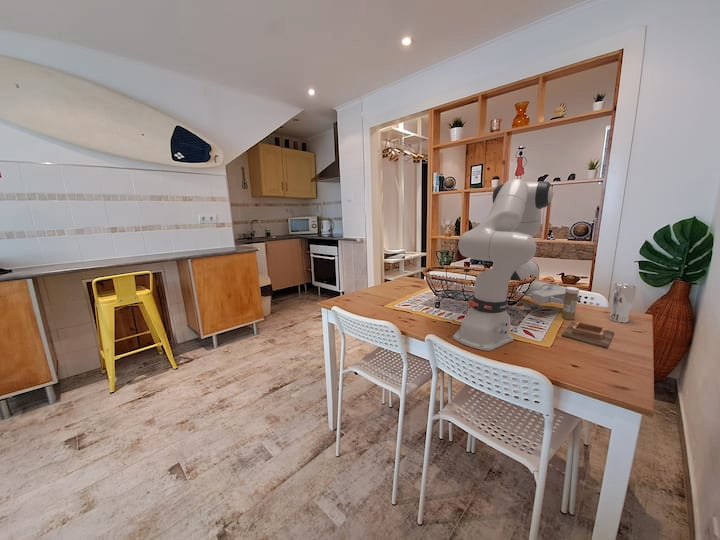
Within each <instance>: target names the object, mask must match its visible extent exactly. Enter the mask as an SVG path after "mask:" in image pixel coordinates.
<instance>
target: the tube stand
mask: <svg viewBox="0 0 720 540" xmlns="http://www.w3.org/2000/svg"><path fill="white" fill-rule="evenodd" d="M614 334H615V331H611V330H610V329H609V330H608V329H606V328H605V327H603V326H598V325H594V324H590V323H585V322H581V321H576V322H573V321H572V322H570V324H569V325H568V326H567V327H566V328H565V329H564V331H563V332H562V334H561V337H562V338H565V339H569V340H573V341H577V342H581V343H585V344H588V345H593V346H596V347H600V348H603V349H608V348H609V346H610V344H611V341H612V339H613V337H614Z"/></svg>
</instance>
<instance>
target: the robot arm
mask: <svg viewBox="0 0 720 540" xmlns="http://www.w3.org/2000/svg"><path fill="white" fill-rule="evenodd" d="M553 197H554V188H553V185H552V184H551V182H549V181H545V180H543V181H542V180H541V181H524V179H520V178H512V179H509V180H507V181H505V183H502V184H500V185H497V186H496V187H495V188H494V189H493V192H492V207H491V209H490V210H489V213H488V215H487V216H486V217H485V219H484V220H483V221H482V222H481V223H479V224H478V225H477V226H475V227H474V228H472V229H470V230H468V231H465V232H463V234H461V236H460V237H459V239H458V242H457V243H458V244H457V246H458V251H459V253H460V255H461V256H462V257H465V258H468V259H471V260H477V261H485V262H492V264H493V265H492V268H490V269H486V270H483V271H481V272H480V273H478V274H477V275H476V277H475V282H474V295H473V296H472V299H471V300H469V302H468V306H469V307H470V308H469V309H468V312H466V314H465V316H464V318H463V320H462V321H461V325H460V328H458V329H457V331H456V332H455V333H454V334H453V336H452V338H453V340H455V341H456V342H458V343H460V344H462V345H465V346H467V347H470V348H472V349H473V348H474V349H477V350H480V351H487V352H491V351H492V350H496V349H497V348H500V347H502V346H504V345H506V344H509V343H510V342H514V336H513V335H511V316H510V315H509V313H508V312H507V309H508V307H509V306H508V305H509V303H508V302H509V301H508V291H509V287H508V285H509V281H510V280H523V279H525V278H529V277H530V275H531V274H532V275H534V276H535V277H536V279H535V280H534V281H533V282H532V283H531V284H530V287H529V289H528V291H527V293H526V294H525V295H524V297H528V298H530V299H531V300H533V301H534V302H537V303H539V304H550V303H554V304H559V305H564V300H565V294H566V293H565V289H566V287H567V286H563V285H562V286H561V285H560V284H559V283H555V282H554V283H551V282H549V283H548V282H546V281H545V282H544V281H540V280H539V279H540V267H539V264H538V263H536V262H535V261H534V260H532V259H534V257H535V255H536V252H537V243H536V241H535V239H534V237H535V236H536V235H537V234H538V233H539V232H540V229H541V225H542V210H541V209H543V208H546V207H547V206H549V205H550V204H551V201H552V200H553ZM532 275H531V276H532ZM580 301H581V297H580V296H578V297H577V302H580Z"/></svg>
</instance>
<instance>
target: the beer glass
mask: <svg viewBox="0 0 720 540" xmlns="http://www.w3.org/2000/svg"><path fill="white" fill-rule="evenodd" d="M636 292H637V286H636V285H633V284H629V283H617V282H616V283H614V284H613V289H612V292H611V299H610V301H611V311H610V314H609V316H608V319H609V320H611V321H613V322H617V323H621V322H623V323H622V324H625V323H626V322H627V323H629V313H630V311H631V309H632V306H633V304H634V301H635V298H636V294H637V293H636ZM627 323H626V324H627Z"/></svg>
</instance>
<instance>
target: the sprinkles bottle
mask: <svg viewBox="0 0 720 540" xmlns="http://www.w3.org/2000/svg"><path fill="white" fill-rule="evenodd" d="M565 287H566V289H565V293H566V294H565V300H564V303H563V304H562V312H561V318H562V319H564V320H568V321H569V320H575V314H576V309H577V304H578V301H577V297H579V294H580V289H579V288H577V287H576V286H575V287H574V286H565Z"/></svg>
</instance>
